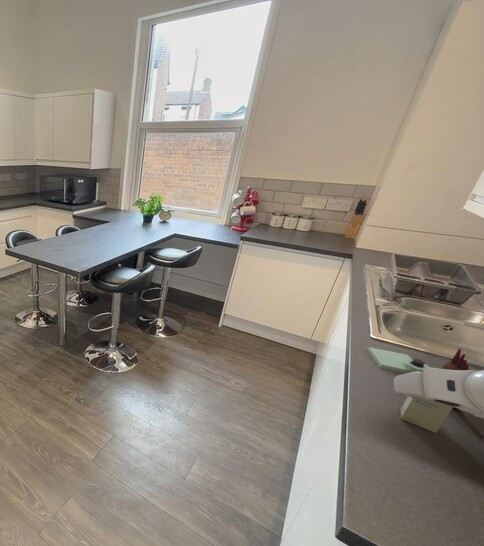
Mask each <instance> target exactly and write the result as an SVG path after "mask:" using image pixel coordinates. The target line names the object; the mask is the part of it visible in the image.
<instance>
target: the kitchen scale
mask: <svg viewBox="0 0 484 546" xmlns="http://www.w3.org/2000/svg"><path fill="white" fill-rule="evenodd" d="M367 352H368V354H369V355H370V356H371V358H372V360H373V361H374V362H375V363H376V365H377V366H378V367H379V368H380V369H383V370H387V371H392V372H396V373H397V372H398V373H400V374H401V373H402V374H406V373H411V372H423V371H424V368H430V366H429V365H428V364H427V363H425V364H424V366H423V368H420V367H416V366H414V365H412V364H411V362H412V361H413V358H411V356H410V355H409V354H405V353H400V352H396V351H390V350H385V349H381V348H376V347H370V346H368V347H367Z"/></svg>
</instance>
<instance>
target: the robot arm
mask: <svg viewBox="0 0 484 546" xmlns="http://www.w3.org/2000/svg"><path fill="white" fill-rule="evenodd" d="M393 388H394V391H395V392H396V393H397V394H399V395H403V396H405V397H412V398H419V399H424V400H428V401H432V402H436V403H440V404H445V405H449V406H453V408H456V409H458V410H460V411H462V412H465V413H469V414H471V415H472V416H475V417H476V418H480V419H483V420H484V369H482V370H475V369H469V370H450V369H442V367H429V368H424V371H423V372H411V373H406V374H405V373H402V374H399V375H396V376H395V377H394V379H393Z"/></svg>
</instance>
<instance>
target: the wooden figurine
mask: <svg viewBox="0 0 484 546" xmlns="http://www.w3.org/2000/svg"><path fill="white" fill-rule="evenodd" d="M461 351H462V348H459V349H458V350H457V351H456V353H455V355H454V356H453V357H452V359H451V361H448V362H446V363H444V364H443V365H442V367H441V369H450V370H470V369H469V364H467V363H468V360H467V359H465V357H466V354H465V353H462V355H461Z"/></svg>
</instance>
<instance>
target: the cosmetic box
mask: <svg viewBox="0 0 484 546" xmlns="http://www.w3.org/2000/svg"><path fill="white" fill-rule="evenodd" d="M406 397H407V396H406ZM453 408H454V407H453V406H449V405H445V404H440V403H436V402H432V401H428V400H424V399H419V398H412V397H407V398H406V399H405V400H404V402H403V404H402V406H401V407H400V418H401V420H403V421H406V422H407V423H410V424H412V425H414V426H417V427H420V428H422V429H425V430H427V431H428V432H432V433H435V434H437V433H438V432H439V430H440V428H441V427H442V425H443V424H444V422H445V421H446V419H447V418H448V416H449V415H450V413H451V412H452V411H453Z"/></svg>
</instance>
